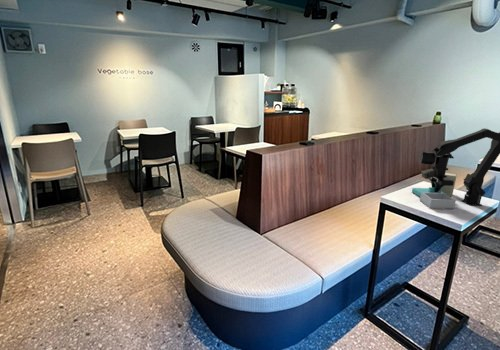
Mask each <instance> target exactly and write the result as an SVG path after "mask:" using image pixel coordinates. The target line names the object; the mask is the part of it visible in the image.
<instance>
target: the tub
mask: <svg viewBox="0 0 500 350" xmlns="http://www.w3.org/2000/svg"><path fill="white" fill-rule="evenodd" d="M419 202H420V203H422V204H423V205H424V206H425V207H427V208H428V209H431V210H432V209H435V210H436V209H437V210H454V209H455V204H456V202H457V201H456V199H454V198H453V197H452V196H448V195H446V194H445V193H424V192H421V197H420V198H419Z"/></svg>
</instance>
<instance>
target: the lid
mask: <svg viewBox="0 0 500 350" xmlns="http://www.w3.org/2000/svg"><path fill="white" fill-rule="evenodd" d="M434 190H435V187H432V186H429V187H426V188H425V187H412V189H411V193H412V192H414V193H415V194H417V195H418V196H420V197H421V192H424V193H434ZM441 190H442V188H441V189H440V190H439V191H438V192H437V193H443V192H441ZM415 194H414V195H415ZM446 195H447V194H446Z"/></svg>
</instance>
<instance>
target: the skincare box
mask: <svg viewBox="0 0 500 350" xmlns="http://www.w3.org/2000/svg"><path fill="white" fill-rule="evenodd" d="M445 175H446V176H447V177H446V178H449V179H451V180H453V181H454V184H453V186H443V187H442V190H441V192H443V193H445V194H447V195H448V196H450V197H452V196H453V193H454V190H455V185H456V179H457V177H458V176H457V175H458V174H454V173H449V172H446V173H445Z"/></svg>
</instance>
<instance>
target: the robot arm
mask: <svg viewBox="0 0 500 350" xmlns="http://www.w3.org/2000/svg"><path fill="white" fill-rule="evenodd" d="M486 138H488V139H490V140H491V142H490V148H489V150H488V151H487V152H486V154H485V155H484V157H483V158H482V160H481V162H480V163H479V164H478V165H477V167H476V169H475V170H474V172H472V173H471V174H470V173H467V174H466V176H465V177H464V178H463V186H464V187H465V189H466V190H467V191H466V192H465V194H464V197H463V199H461V201H462V202H463V203H465V204H466V205H469V206H479V207H480V206H482V205H483V204H482V203H481V202H482V201H481V200H482V198H483V196H484V195H485V194H486V191H485V190H484V189H483V188H482V186H483V184H484V181H485V180H484V179H485V176H486V175H487V173H488V172H489V171H490V169H491V167H492V165H494V163H495V162H496V161H497V159H498V157H499V156H500V131H499V132H497V131H493V130H491V129H488V128H481V129H480V130H476V131H473V132H472V133H471V132H470V133H469V134H466V135H464V136H461V137H458V138H454V139H447V140H444V141H443V140H442V141H440V142H438V143H437V146H435V148H433V150H431V151H428V152H427V151H421V153H420V155H419V156H418V157H419V158H418V163H419V165H431V168H427V169H425V170H421V171H420V173H421V177H422V178H424V179H426V180H429V182H430V184H431V185H430V186H431V187H435V190H434V193H437V192H438V191H439V190H440V189H441V188H442V187H443V186H453V184H454V181H453V180H451V179H449V178H446V177H447V176H446V175H445V173H447V171H449V167H448V164H449V159H455V157H454V156H453V155H452V153H453V152H455V151H456V150H458V149H459V148H461V147H463V146H466V145H469V144H472V143H474V142H477V141H480V140H483V139H486Z"/></svg>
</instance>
